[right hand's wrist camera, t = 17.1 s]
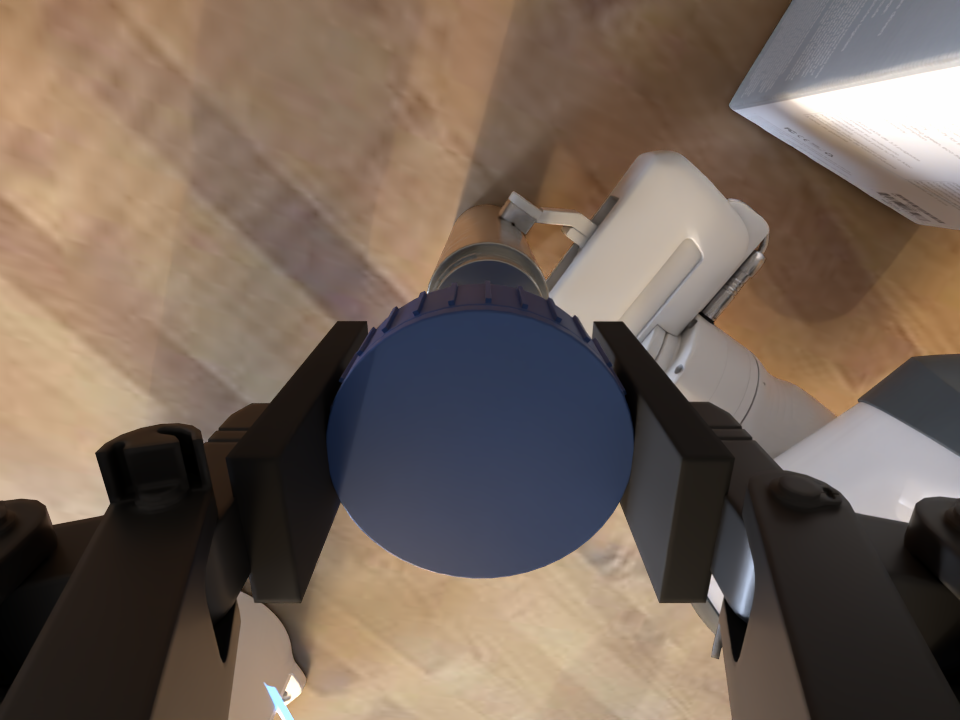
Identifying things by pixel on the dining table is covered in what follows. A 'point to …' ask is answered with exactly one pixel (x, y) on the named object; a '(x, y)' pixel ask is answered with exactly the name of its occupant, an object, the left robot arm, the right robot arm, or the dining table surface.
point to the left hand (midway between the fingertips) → (473, 250)
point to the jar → (487, 254)
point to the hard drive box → (868, 97)
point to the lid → (480, 433)
